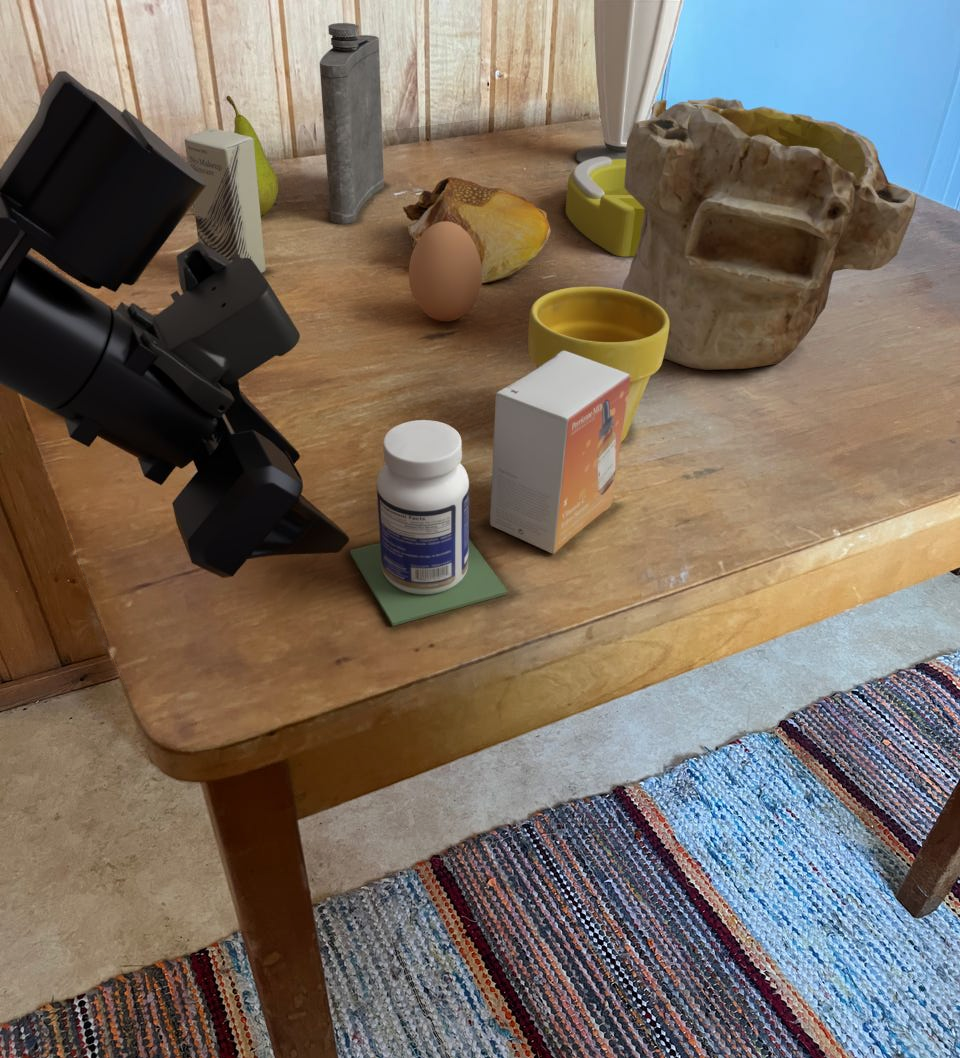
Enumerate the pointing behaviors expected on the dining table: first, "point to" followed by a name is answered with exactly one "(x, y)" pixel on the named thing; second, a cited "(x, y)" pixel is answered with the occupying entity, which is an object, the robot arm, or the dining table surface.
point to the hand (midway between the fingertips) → (318, 500)
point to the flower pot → (602, 333)
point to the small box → (557, 449)
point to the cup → (629, 65)
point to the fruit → (258, 164)
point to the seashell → (484, 223)
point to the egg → (445, 272)
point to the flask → (352, 120)
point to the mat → (412, 606)
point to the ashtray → (604, 205)
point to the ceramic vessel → (752, 225)
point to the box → (227, 194)
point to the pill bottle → (423, 507)
